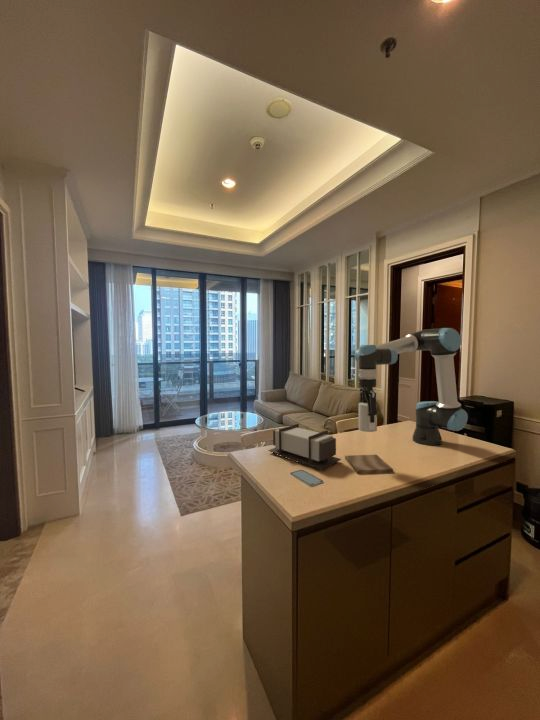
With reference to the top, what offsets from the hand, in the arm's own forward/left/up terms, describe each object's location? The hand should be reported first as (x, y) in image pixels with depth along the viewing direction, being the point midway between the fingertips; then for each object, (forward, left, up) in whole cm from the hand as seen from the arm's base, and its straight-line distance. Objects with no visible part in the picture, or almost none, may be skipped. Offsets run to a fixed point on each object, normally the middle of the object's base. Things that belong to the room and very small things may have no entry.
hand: (367, 426), depth 142 cm
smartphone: (+31, +11, -19) cm, 38 cm away
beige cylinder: (0, 0, -1) cm, 1 cm away
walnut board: (0, 0, -18) cm, 18 cm away
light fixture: (+28, -12, -19) cm, 36 cm away
